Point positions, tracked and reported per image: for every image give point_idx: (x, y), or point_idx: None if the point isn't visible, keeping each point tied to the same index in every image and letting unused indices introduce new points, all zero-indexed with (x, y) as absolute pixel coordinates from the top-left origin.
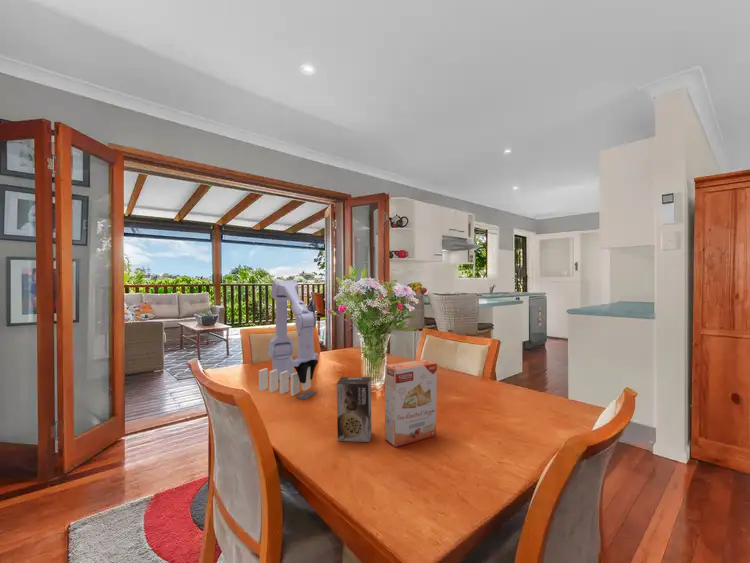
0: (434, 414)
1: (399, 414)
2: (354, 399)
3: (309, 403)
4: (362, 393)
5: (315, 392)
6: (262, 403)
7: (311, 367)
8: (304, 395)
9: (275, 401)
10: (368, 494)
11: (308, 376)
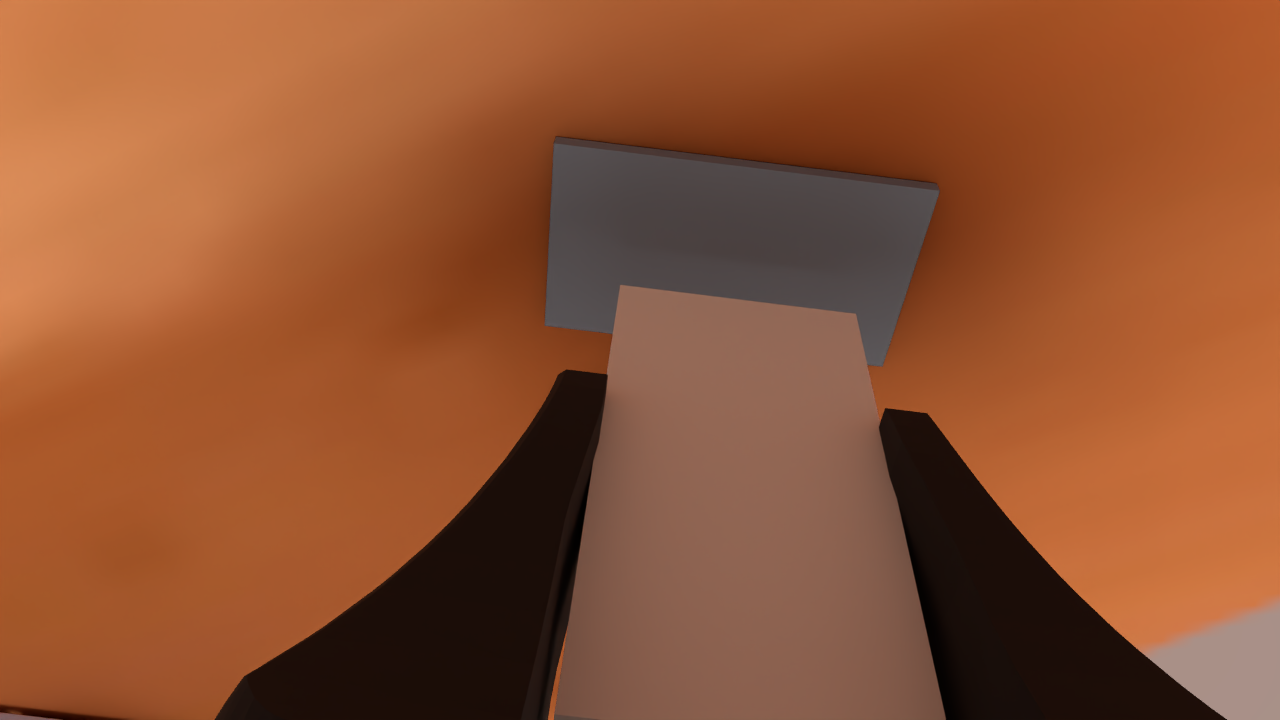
0: None
1: None
2: None
3: (1186, 4)
4: None
5: (554, 149)
6: (1141, 643)
7: (546, 655)
8: (774, 277)
9: (1061, 550)
10: None
11: (696, 484)
